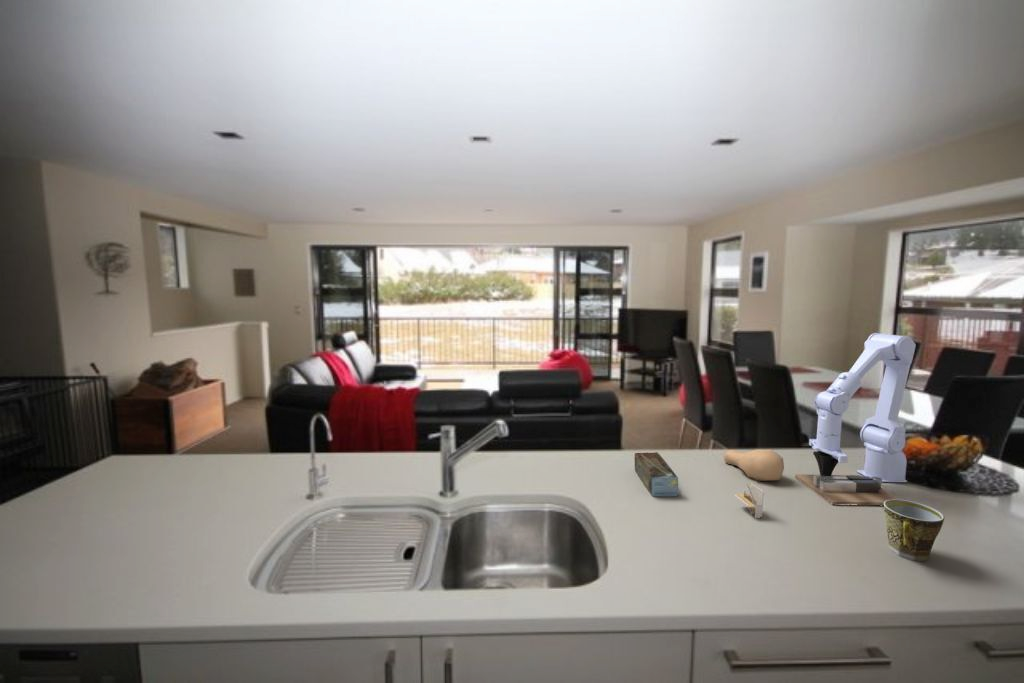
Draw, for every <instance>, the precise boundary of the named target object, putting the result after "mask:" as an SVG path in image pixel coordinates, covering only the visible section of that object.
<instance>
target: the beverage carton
mask: <svg viewBox="0 0 1024 683" xmlns="http://www.w3.org/2000/svg"><path fill="white" fill-rule="evenodd" d="M634 470H635V473H637V475H638V477H639V479H640V480H641V482H642V483H643V485H644V487H646V489H647V491H648V492H649V494H650V496H651V497H678V495H679V477H678V476H677V475H676V473H675V472H674V471H673V469H672V468H671V467H670V465H669V464H668V463H667V462H666V461H665V459H664V458H663V457H662V456H661V454H660V453H659V452H657V451H655V452H634Z"/></svg>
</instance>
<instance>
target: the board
mask: <svg viewBox="0 0 1024 683" xmlns="http://www.w3.org/2000/svg"><path fill="white" fill-rule="evenodd" d="M814 476H821V475H820V474H805V473H804V474H803V473H802V474H799V473H798V474H797V473H796V474H794V478H795V479H796V478H797V479H796V480H798V481H801V482H800V483H801V484H803V485H804V484H805V486H806V487H807V486H808V487H809V489H810V488H811V489H812V490H811V489H810V490H811V491H813V490H814V491H815V492H816V494H817V493H818V494H819V495H821V496H822V497H823V498H825V499H826V500H828V501H829V502H830V503H832V504H850V505H851V504H857V505H880V506H879V507H884V506H883V505H884V502H885V501H887V500H894V499H895V500H902V498H900V497H898V496H896V495H894V494H892V493H891V492H890V491H887V490H885V488H882V487H881V489H879V493H856V492H822V491H821V490H820V489H819V487H820V486H815V485H814V484H813V478H814ZM831 476H836V477H846V476H861V474H832V475H831ZM808 487H807V488H808ZM814 491H813V492H814ZM815 492H814V493H815ZM818 494H817V495H818ZM819 495H818V496H819ZM821 496H820V497H821ZM822 497H821V498H822ZM823 498H822V499H823ZM825 499H824V500H825ZM826 500H825V501H826ZM828 501H827V502H828ZM829 502H828V503H829ZM830 503H829V504H830ZM832 504H831V505H832ZM881 505H882V506H881Z"/></svg>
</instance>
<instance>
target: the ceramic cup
mask: <svg viewBox="0 0 1024 683" xmlns="http://www.w3.org/2000/svg"><path fill="white" fill-rule="evenodd" d="M883 513H884V520H885V525H886V532H887V538H888V539H887V540H888V547H889V550H890V551H892V550H893V551H894V552H895V553H894V552H893V551H892V552H893V553H894V554H896V555H897V554H898V555H899V557H901V558H904V559H907V560H909V561H913V562H927V561H928V560H929V557H930V555H931V553H932V552H931V551H932V548H933V546H934V543H935V541H936V538H937V537H938V535H939V534H940V532H941V530H942V527H943V524H944V522H945V516H944V514H943V513H941V511H939V510H937V509H935V508H933V507H931V506H928V505H925V504H922V503H919V502H915V501H910V500H905V499H901V500H895V499H894V500H887V501H885V502H884V506H883ZM898 555H897V556H898Z"/></svg>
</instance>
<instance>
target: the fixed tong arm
mask: <svg viewBox="0 0 1024 683" xmlns="http://www.w3.org/2000/svg"><path fill="white" fill-rule="evenodd" d="M819 489H820V490H821V491H822V492H856V493H879V482H877V481H875V480H852V481H841V480H820V487H819Z"/></svg>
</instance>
